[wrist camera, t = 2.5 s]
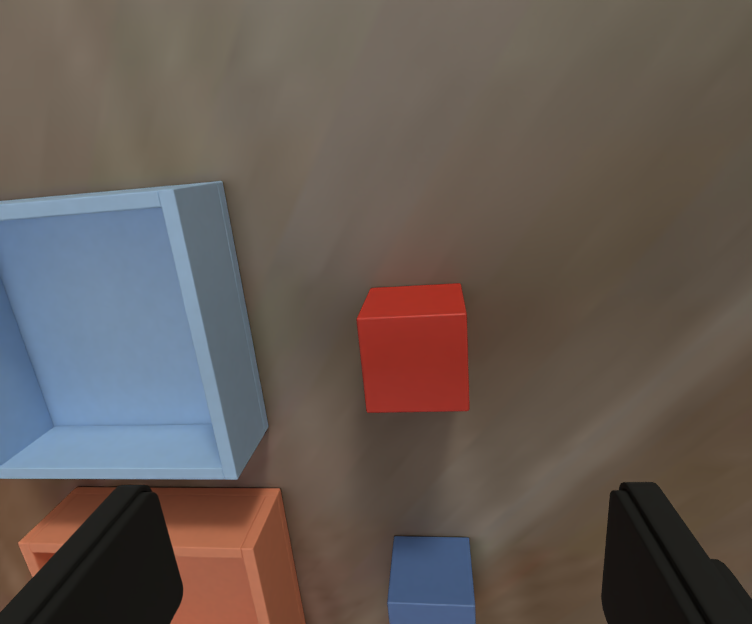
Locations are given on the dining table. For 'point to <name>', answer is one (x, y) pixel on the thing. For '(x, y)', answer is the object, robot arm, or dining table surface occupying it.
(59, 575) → the robot arm
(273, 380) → the dining table surface
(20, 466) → the blue bin
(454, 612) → the blue block
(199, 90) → the dining table surface
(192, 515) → the terracotta bin
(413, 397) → the red block
